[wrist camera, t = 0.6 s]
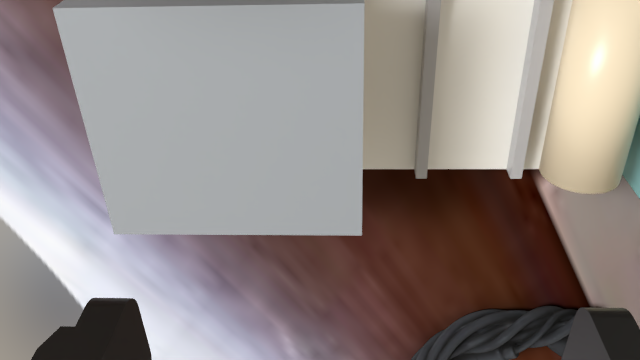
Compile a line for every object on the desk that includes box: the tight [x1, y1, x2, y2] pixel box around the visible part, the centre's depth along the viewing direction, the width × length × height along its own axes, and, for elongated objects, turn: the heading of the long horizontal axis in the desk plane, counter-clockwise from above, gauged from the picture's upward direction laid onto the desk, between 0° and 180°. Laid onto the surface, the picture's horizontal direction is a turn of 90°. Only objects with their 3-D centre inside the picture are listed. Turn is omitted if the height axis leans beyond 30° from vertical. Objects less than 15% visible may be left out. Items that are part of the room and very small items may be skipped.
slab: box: [53, 0, 365, 235], centre depth 27 cm, size 11×12×2 cm
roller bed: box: [363, 0, 640, 198], centre depth 29 cm, size 12×28×6 cm, turn 92°
